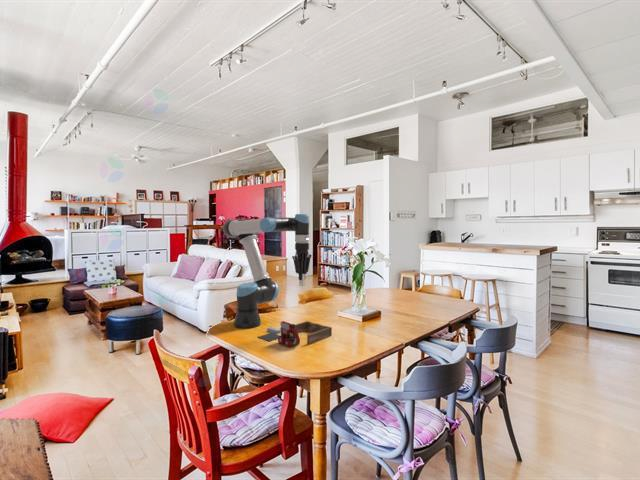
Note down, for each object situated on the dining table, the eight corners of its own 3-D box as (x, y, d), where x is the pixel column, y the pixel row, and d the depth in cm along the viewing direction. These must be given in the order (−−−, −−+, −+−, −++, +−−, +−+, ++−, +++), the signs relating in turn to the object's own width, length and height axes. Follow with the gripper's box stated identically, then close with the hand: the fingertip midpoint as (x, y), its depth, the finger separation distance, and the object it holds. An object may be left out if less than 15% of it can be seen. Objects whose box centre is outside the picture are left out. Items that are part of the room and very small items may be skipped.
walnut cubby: (284, 336, 185) (284, 328, 185) (307, 328, 198) (307, 320, 198) (309, 344, 174) (309, 335, 174) (331, 335, 187) (331, 327, 187)
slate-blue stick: (267, 331, 195) (267, 327, 195) (270, 330, 197) (270, 326, 196) (277, 334, 189) (277, 331, 189) (280, 333, 191) (280, 330, 191)
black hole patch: (257, 337, 184) (257, 336, 184) (270, 333, 191) (270, 332, 191) (269, 341, 178) (269, 340, 178) (282, 337, 185) (282, 336, 185)
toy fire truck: (291, 349, 168) (291, 327, 167) (275, 342, 177) (275, 322, 176) (303, 345, 173) (303, 324, 172) (286, 339, 182) (286, 319, 181)
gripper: (298, 243, 187) (298, 288, 188) (315, 242, 197) (315, 284, 198) (288, 242, 192) (288, 286, 193) (305, 241, 202) (305, 283, 203)
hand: (302, 285), depth 196 cm, fingers closed
